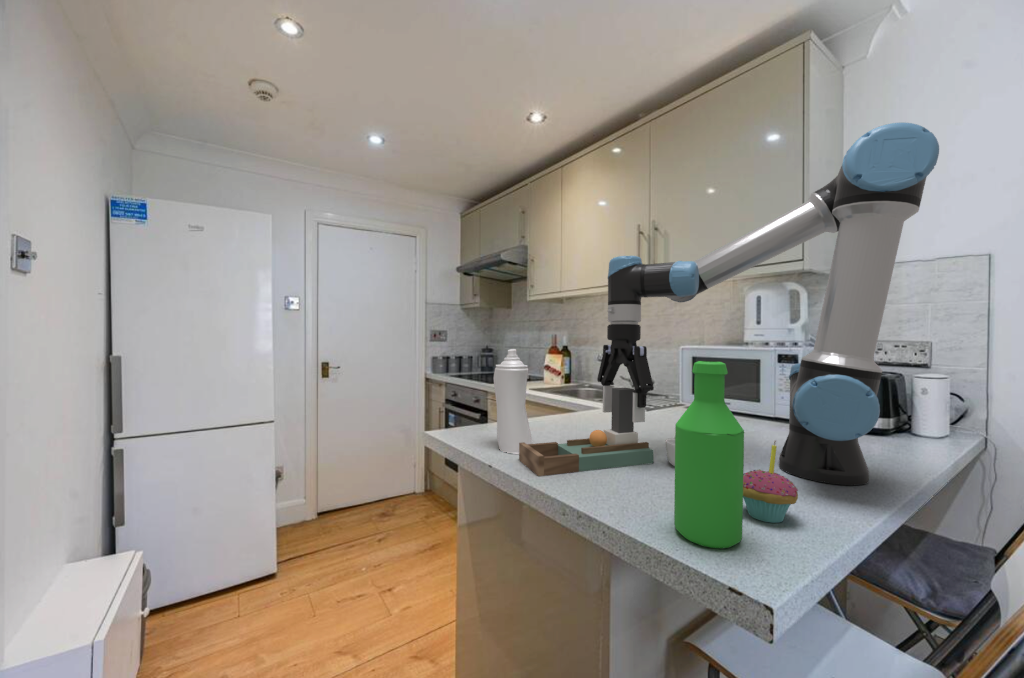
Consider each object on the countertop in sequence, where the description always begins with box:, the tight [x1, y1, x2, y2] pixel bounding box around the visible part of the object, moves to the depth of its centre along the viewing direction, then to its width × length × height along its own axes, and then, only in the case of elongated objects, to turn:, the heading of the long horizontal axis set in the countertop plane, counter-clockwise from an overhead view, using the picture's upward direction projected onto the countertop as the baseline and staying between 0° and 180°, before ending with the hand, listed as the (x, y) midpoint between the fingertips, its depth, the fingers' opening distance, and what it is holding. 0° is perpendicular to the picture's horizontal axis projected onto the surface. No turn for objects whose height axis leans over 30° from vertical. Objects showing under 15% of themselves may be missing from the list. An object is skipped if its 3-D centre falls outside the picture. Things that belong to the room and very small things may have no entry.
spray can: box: [493, 348, 534, 455], centre depth 104 cm, size 12×11×25 cm
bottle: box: [673, 360, 745, 549], centre depth 59 cm, size 9×9×25 cm
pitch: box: [558, 442, 654, 472], centre depth 94 cm, size 11×19×3 cm, turn 110°
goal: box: [518, 441, 580, 477], centre depth 90 cm, size 11×9×4 cm
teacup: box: [665, 437, 675, 468], centre depth 90 cm, size 10×8×5 cm
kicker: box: [603, 387, 639, 445], centre depth 96 cm, size 5×6×13 cm
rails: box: [566, 437, 650, 454], centre depth 95 cm, size 8×17×1 cm, turn 110°
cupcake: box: [743, 440, 799, 524], centre depth 65 cm, size 9×8×12 cm
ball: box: [588, 429, 607, 447], centre depth 94 cm, size 4×4×4 cm
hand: (622, 416), depth 96 cm, fingers open, 11 cm apart
